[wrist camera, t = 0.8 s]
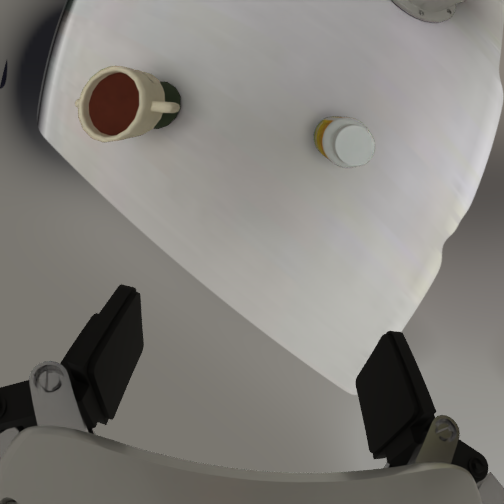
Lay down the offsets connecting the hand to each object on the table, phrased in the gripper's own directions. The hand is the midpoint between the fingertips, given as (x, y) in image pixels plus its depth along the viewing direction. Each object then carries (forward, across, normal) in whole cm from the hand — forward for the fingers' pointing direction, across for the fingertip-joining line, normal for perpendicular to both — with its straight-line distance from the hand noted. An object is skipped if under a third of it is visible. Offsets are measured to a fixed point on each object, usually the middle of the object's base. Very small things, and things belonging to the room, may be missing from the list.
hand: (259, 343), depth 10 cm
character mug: (+29, +15, -7) cm, 33 cm away
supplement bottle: (+29, -7, -7) cm, 30 cm away
